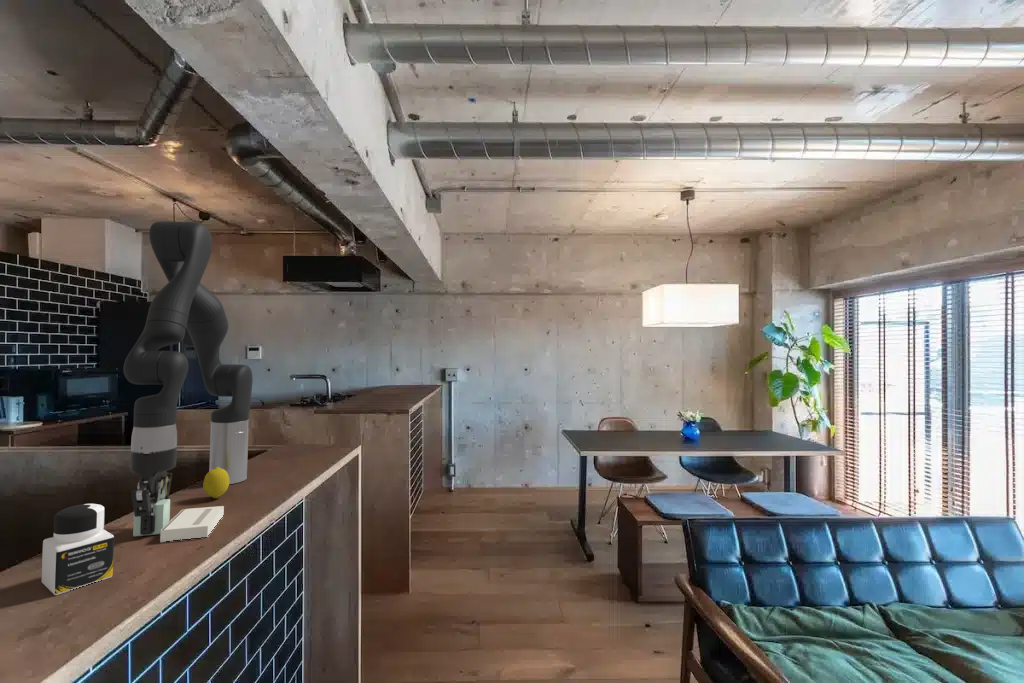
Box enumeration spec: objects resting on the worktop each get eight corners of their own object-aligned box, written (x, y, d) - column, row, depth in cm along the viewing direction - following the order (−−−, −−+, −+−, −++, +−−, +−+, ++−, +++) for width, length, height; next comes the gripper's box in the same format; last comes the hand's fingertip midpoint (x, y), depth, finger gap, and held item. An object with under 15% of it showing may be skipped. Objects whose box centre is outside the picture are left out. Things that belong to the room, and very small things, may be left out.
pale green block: (140, 529, 95) (141, 500, 95) (169, 527, 97) (170, 498, 97) (132, 536, 92) (133, 506, 92) (162, 533, 93) (163, 504, 93)
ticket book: (182, 520, 101) (182, 508, 101) (223, 516, 104) (223, 505, 104) (160, 542, 90) (160, 529, 90) (207, 537, 92) (207, 525, 92)
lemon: (233, 495, 118) (234, 464, 118) (217, 502, 112) (219, 470, 112) (214, 494, 118) (215, 463, 118) (197, 501, 113) (198, 469, 113)
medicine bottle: (54, 596, 70) (57, 518, 70) (40, 583, 74) (43, 509, 74) (113, 577, 76) (115, 505, 76) (97, 565, 80) (100, 497, 80)
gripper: (147, 440, 100) (144, 519, 100) (115, 455, 86) (112, 546, 86) (187, 439, 102) (185, 516, 102) (162, 453, 89) (159, 542, 89)
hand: (151, 529), depth 94 cm, fingers closed on pale green block, 3 cm apart
